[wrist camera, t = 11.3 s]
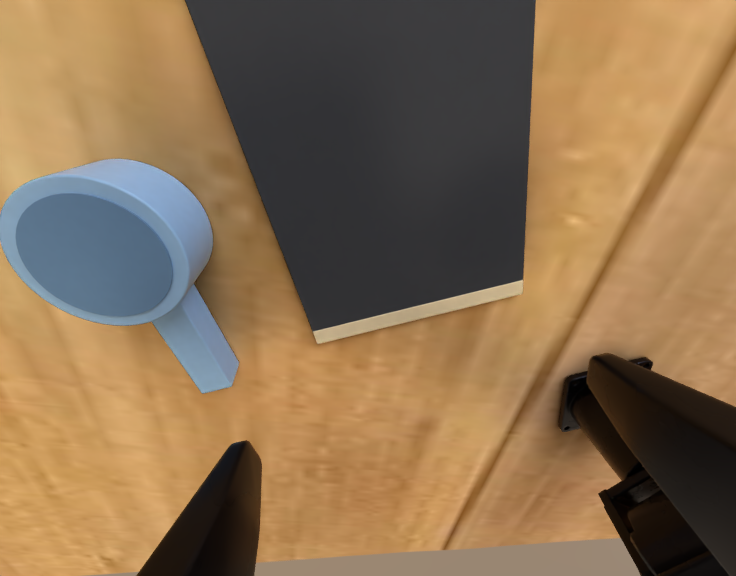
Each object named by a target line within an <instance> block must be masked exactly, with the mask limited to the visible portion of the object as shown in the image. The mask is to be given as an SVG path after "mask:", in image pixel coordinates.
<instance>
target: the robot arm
mask: <svg viewBox="0 0 736 576" xmlns="http://www.w3.org/2000/svg"><path fill="white" fill-rule="evenodd" d="M652 365H653V362H652V361H651V360H649V359H648V358H646V357H644V358H639V359H635V360H631V361H627V360H625V359H622V358H620V357H618V356H615V355H613V354H610V353H604V354H600V355H596V356H593V357H591V359H590V361H589V367H588V371H586V372H582V373H578V374H574V375H571V376H569V377H567V378H566V380H565V385H564V392H563V398H562V405H561V411H560V418H559V424H558V426H559V428H560V429H561V431H562V432H567V431H571V430H575V429H579V428H581V429H582V431H583V432H584V433H585V434H586V436H587V437H588V438H589V439H590V441H591V442H592V443H593V445H594V446H595V447H596V448H597V450H598V451H599V452H600V454H601V455H602V456H603V457H604V459H605V460H606V461H607V462H608V464H609V465H610V466H611V468H612V469H613V470H614V471H615V473H616V474H617V475H618V477H619V478H620V479H621V480H622V481H621V482H619V483H618V484H616V485H614V486H613V487H611V488H610V489H608V490H603V491H601V492H600V493H598V494H599V496H600V498H601V500H602V502H603V504H604V505H605V506H604V508H605V510H606V512H607V514H608V515H609V517H610V519H611V521H612V523H613V524H614V526H615V528H616V530H617V532H618V534H619V535H620V537H621V539H622V541H623V542H624V544H625V546H626V548H627V550H628V552H629V554H630V555H631V557H632V559H633V561H634V563H635V564H636V566H637V568H638V570H639V572H640V575H641V576H736V407H734V406H732V405H730V404H727V403H725V402H723V401H720V400H718V399H716V398H713V397H711V396H709V395H706V394H704V393H702V392H699V391H697V390H695V389H692V388H690V387H688V386H685V385H683V384H681V383H678V382H676V381H674V380H671V379H669V378H667V377H664V376H662V375H660V374H657V373H655V372H653V371H651V368H652ZM261 476H262V463H261V459H260V457H259V455H258V454H257V452H256V451H255V449H254V448H253V446H252V445H251V443H250V442H249V441H247V440H245V441H241V442H237V443H233V444H232V445H230V446H229V448H228V449H227V450H226V452H225V453H224V454H223V456H222V457H221V459H220V460H219V461H218V463H217V464H216V466H215V467H214V468H213V470H212V471H211V473H210V474H209V475H208V477H207V478H206V480H205V481H204V482H203V484H202V485H201V486H200V488H199V489H198V491H197V492H196V493H195V495H194V496H193V498H192V499H191V500H190V502H189V503H188V505H187V506H186V507H185V509H184V510H183V512H182V513H181V514H180V516H179V517H178V519H177V520H176V521H175V523H174V524H173V525H172V527H171V528H170V530H169V531H168V532H167V534H166V535H165V537H164V538H163V539H162V541H161V542H160V544H159V545H158V546H157V548H156V549H155V551H154V552H153V553H152V555H151V556H150V558H149V559H148V560H147V562H146V563H145V565H144V566H143V567H142V569H141V570H140V571H139V573H138V574H137V576H254V572H255V564H256V556H257V549H258V540H259V531H260V508H261Z"/></svg>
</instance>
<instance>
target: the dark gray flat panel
mask: <svg viewBox="0 0 736 576" xmlns="http://www.w3.org/2000/svg"><path fill="white" fill-rule="evenodd" d="M185 2H186V4H187V7H188V9H189V12H190V15H191V17H192V20H193V22H194V25H195V28H196V30H197V33H198V35H199V38H200V40H201V43H202V46H203V48H204V51H205V53H206V56H207V59H208V61H209V64H210V66H211V69H212V72H213V74H214V77H215V79H216V82H217V85H218V87H219V90H220V92H221V95H222V98H223V100H224V103H225V105H226V108H227V111H228V113H229V116H230V118H231V121H232V123H233V126H234V129H235V131H236V134H237V136H238V139H239V142H240V144H241V147H242V149H243V152H244V155H245V157H246V160H247V162H248V165H249V168H250V170H251V173H252V175H253V178H254V181H255V183H256V186H257V188H258V191H259V193H260V196H261V199H262V201H263V204H264V206H265V209H266V212H267V214H268V217H269V219H270V222H271V225H272V227H273V230H274V232H275V235H276V238H277V240H278V243H279V245H280V248H281V251H282V253H283V256H284V258H285V261H286V264H287V266H288V269H289V271H290V274H291V276H292V279H293V282H294V284H295V287H296V289H297V292H298V295H299V297H300V300H301V302H302V305H303V308H304V310H305V313H306V315H307V318H308V321H309V323H310V326H311V328H312V331H313V334H314V337H315V339H316V342H317V344H320V343H324V342H328V341H333V340H337V339H341V338H345V337H349V336H353V335H357V334H361V333H365V332H369V331H373V330H377V329H381V328H385V327H390V326H394V325H398V324H402V323H406V322H410V321H414V320H418V319H422V318H426V317H430V316H434V315H438V314H442V313H446V312H451V311H455V310H459V309H463V308H467V307H471V306H475V305H479V304H483V303H487V302H491V301H495V300H499V299H503V298H508V297H512V296H516V295H520V294H523V268H524V245H525V223H526V201H527V179H528V157H529V135H530V112H531V90H532V68H533V46H534V24H535V2H536V0H185Z"/></svg>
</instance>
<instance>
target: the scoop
mask: <svg viewBox="0 0 736 576" xmlns="http://www.w3.org/2000/svg"><path fill="white" fill-rule="evenodd" d="M0 242H1V245H2V248H3V251H4V253H5V255H6V258H7V260H8V261H9V263H10V265H11V266H12V268H13V269H14V271H15V272H16V273H17V274H18V276H19V277H20V278H21V279H22V280H23V281H24V282H25V283H26V284H27V286H28V287H29V288H31V289H32V290H33V291H34V292H35V293H36V294H38V295H39V296H40V297H42V298H43V299H44V300H46V301H47V302H49V303H50V304H52V305H54V306H55V307H57V308H59V309H61V310H63V311H65V312H67V313H69V314H71V315H74V316H76V317H79V318H82V319H85V320H88V321H92V322H96V323H101V324H107V325H116V326H129V325H139V324H144V323H148V322H152V323H153V325H154V326H155V328H156V329H157V330H158V332H159V333H160V335H161V336H162V337H163V339H164V340H165V342H166V343H167V345H168V346H169V347H170V349H171V350H172V352H173V353H174V354H175V356H176V357H177V359H178V360H179V362H180V363H181V364H182V366H183V367H184V369H185V370H186V371H187V373H188V374H189V376H190V377H191V379H192V380H193V381H194V383H195V384H196V386H197V387H198V389H199V390H200V391H201V393H202V394H203V393H208V392H212V391H216V390H220V389H224V388H228V387H231V386H232V384H233V381H234V378H235V375H236V372H237V368H238V365H239V362H238V360H237V358H236V356H235V355H234V353H233V351H232V349H231V348H230V346H229V344H228V342H227V341H226V339H225V337H224V335H223V334H222V332H221V330H220V328H219V327H218V325H217V323H216V322H215V320H214V318H213V316H212V315H211V313H210V311H209V309H208V308H207V306H206V304H205V302H204V301H203V299H202V297H201V295H200V294H199V292H198V290H197V288H196V287H195V285H194V282H195V281H196V279H197V278H198V276H199V275H200V274H201V272H202V271H203V269H204V268H205V266H206V265H207V263H208V261H209V259H210V256H211V253H212V248H213V234H212V228H211V225H210V221H209V219H208V216H207V214H206V212H205V210H204V209H203V207H202V205H201V204H200V202H199V201H198V200H197V198H196V197H195V196H194V195H193V194H192V193H191V191H190V190H189V189H188V188H186V187H185V186H184V185H183V184H182V183H181V182H179V181H178V180H177V179H175V178H174V177H173V176H171V175H169V174H168V173H166V172H164V171H162V170H160V169H158V168H156V167H154V166H151V165H148V164H145V163H142V162H138V161H134V160H127V159H107V160H101V161H97V162H93V163H90V164H86V165H82V166H79V167H75V168H72V169H68V170H64V171H61V172H57V173H54V174H50V175H46V176H43V177H40V178H37V179H34V180H31V181H29V182H27V183H25V184H23V185H21V186H20V187H19V188H18V189H16V190H15V191H14V192H13V193H12V194H11V195H10V197H9V198H8V199H7V200H6V202H5V204H4V206H3V208H2V210H1V214H0Z"/></svg>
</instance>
